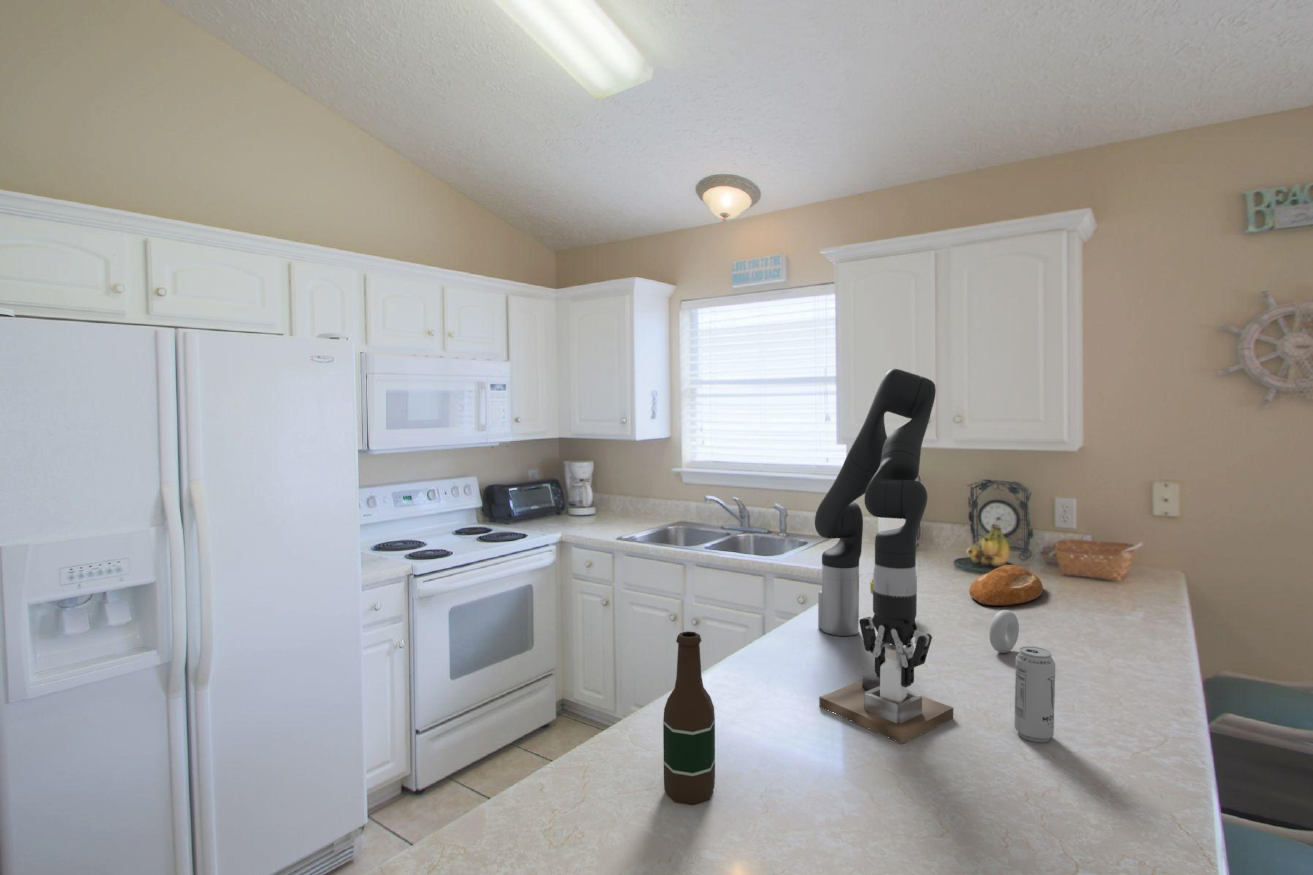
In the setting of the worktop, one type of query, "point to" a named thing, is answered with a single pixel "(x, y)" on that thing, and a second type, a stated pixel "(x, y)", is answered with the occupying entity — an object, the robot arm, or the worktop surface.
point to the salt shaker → (892, 676)
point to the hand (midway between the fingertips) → (893, 680)
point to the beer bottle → (689, 729)
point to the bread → (1006, 586)
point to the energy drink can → (1034, 694)
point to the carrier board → (886, 710)
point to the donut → (1004, 631)
